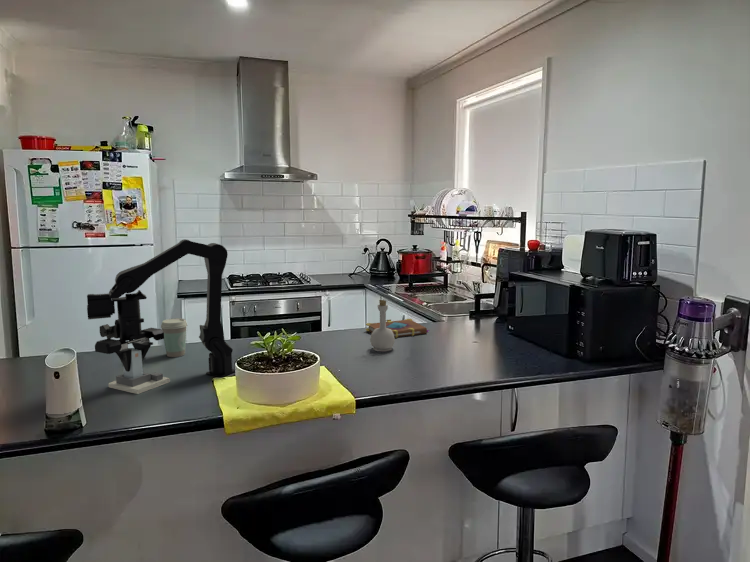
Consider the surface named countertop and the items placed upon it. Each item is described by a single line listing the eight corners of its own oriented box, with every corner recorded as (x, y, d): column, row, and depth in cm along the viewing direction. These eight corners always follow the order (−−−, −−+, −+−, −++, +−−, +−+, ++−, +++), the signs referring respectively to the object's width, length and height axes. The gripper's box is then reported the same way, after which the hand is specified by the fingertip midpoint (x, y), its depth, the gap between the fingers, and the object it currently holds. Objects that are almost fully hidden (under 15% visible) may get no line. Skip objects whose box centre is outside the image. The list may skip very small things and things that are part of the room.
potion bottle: (366, 350, 188) (366, 300, 185) (376, 344, 196) (376, 296, 193) (390, 353, 185) (390, 302, 182) (398, 347, 193) (399, 298, 190)
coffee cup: (180, 359, 178) (178, 323, 177) (157, 357, 180) (155, 322, 178) (193, 352, 187) (192, 318, 185) (171, 350, 188) (169, 317, 187)
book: (436, 336, 214) (437, 323, 213) (381, 342, 204) (381, 330, 203) (416, 325, 228) (417, 314, 227) (364, 331, 218) (364, 319, 217)
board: (169, 382, 156) (169, 371, 155) (137, 394, 146) (137, 382, 145) (141, 376, 161) (140, 365, 161) (108, 387, 151) (107, 376, 151)
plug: (143, 377, 153) (141, 350, 151) (133, 380, 150) (131, 353, 149) (133, 375, 154) (131, 348, 153) (123, 378, 152) (121, 351, 150)
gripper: (137, 307, 161) (141, 357, 164) (79, 319, 145) (84, 374, 147) (164, 310, 156) (167, 362, 159) (106, 323, 140) (111, 380, 142)
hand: (133, 369), depth 152 cm, fingers closed on plug, 3 cm apart
